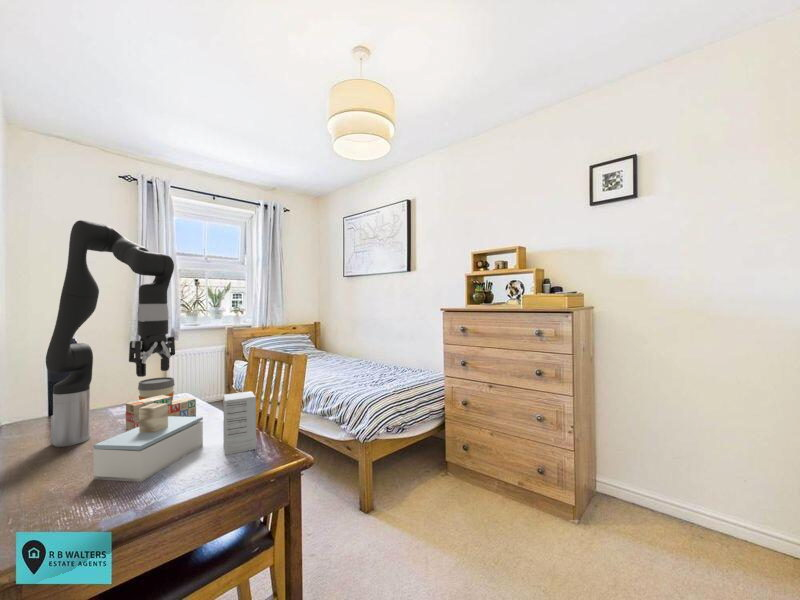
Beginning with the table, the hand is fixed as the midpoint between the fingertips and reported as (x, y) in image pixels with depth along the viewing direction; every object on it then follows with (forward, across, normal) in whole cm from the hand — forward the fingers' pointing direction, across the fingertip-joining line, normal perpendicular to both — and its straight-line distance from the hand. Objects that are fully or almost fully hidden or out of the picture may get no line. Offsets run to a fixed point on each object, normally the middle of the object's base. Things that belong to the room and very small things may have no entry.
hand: (153, 373), depth 106 cm
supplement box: (+26, -12, +20) cm, 35 cm away
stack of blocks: (+26, -25, -18) cm, 41 cm away
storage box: (+26, 0, 0) cm, 26 cm away
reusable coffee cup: (+26, -38, -33) cm, 57 cm away
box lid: (+18, 0, 0) cm, 18 cm away
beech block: (+17, 0, 0) cm, 17 cm away
